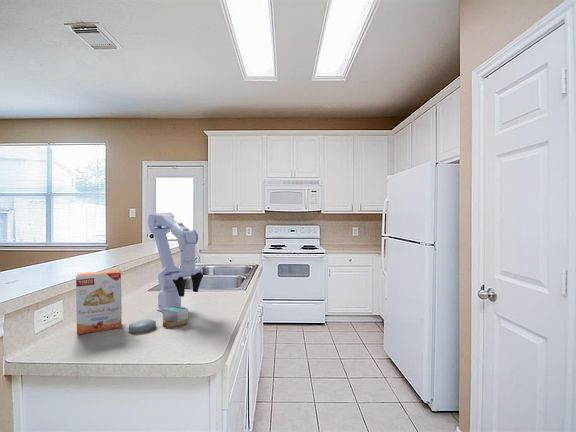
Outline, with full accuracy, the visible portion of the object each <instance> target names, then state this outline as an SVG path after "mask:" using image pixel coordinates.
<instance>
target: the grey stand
mask: <svg viewBox="0 0 576 432" xmlns="http://www.w3.org/2000/svg"><path fill="white" fill-rule="evenodd" d="M156 322H157V321H156V320H154V319H142V320H141V319H140V320H137V321H133V322H131V323H130V324H129V325H128V332H129V333H130V334H145V333H148V332H151V331H154V330H155V329H156V328H157V323H156Z"/></svg>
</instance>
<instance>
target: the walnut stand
mask: <svg viewBox="0 0 576 432" xmlns="http://www.w3.org/2000/svg"><path fill="white" fill-rule="evenodd" d="M188 323H189V318H188V319H186V320H183V321H181V322H178V323H177V322H172V321H167V320H163V319H162V327H163V328H165V327H166V329H176V327H177V328H182V327H184V326H186V325H187V324H188ZM181 326H182V327H181Z"/></svg>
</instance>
